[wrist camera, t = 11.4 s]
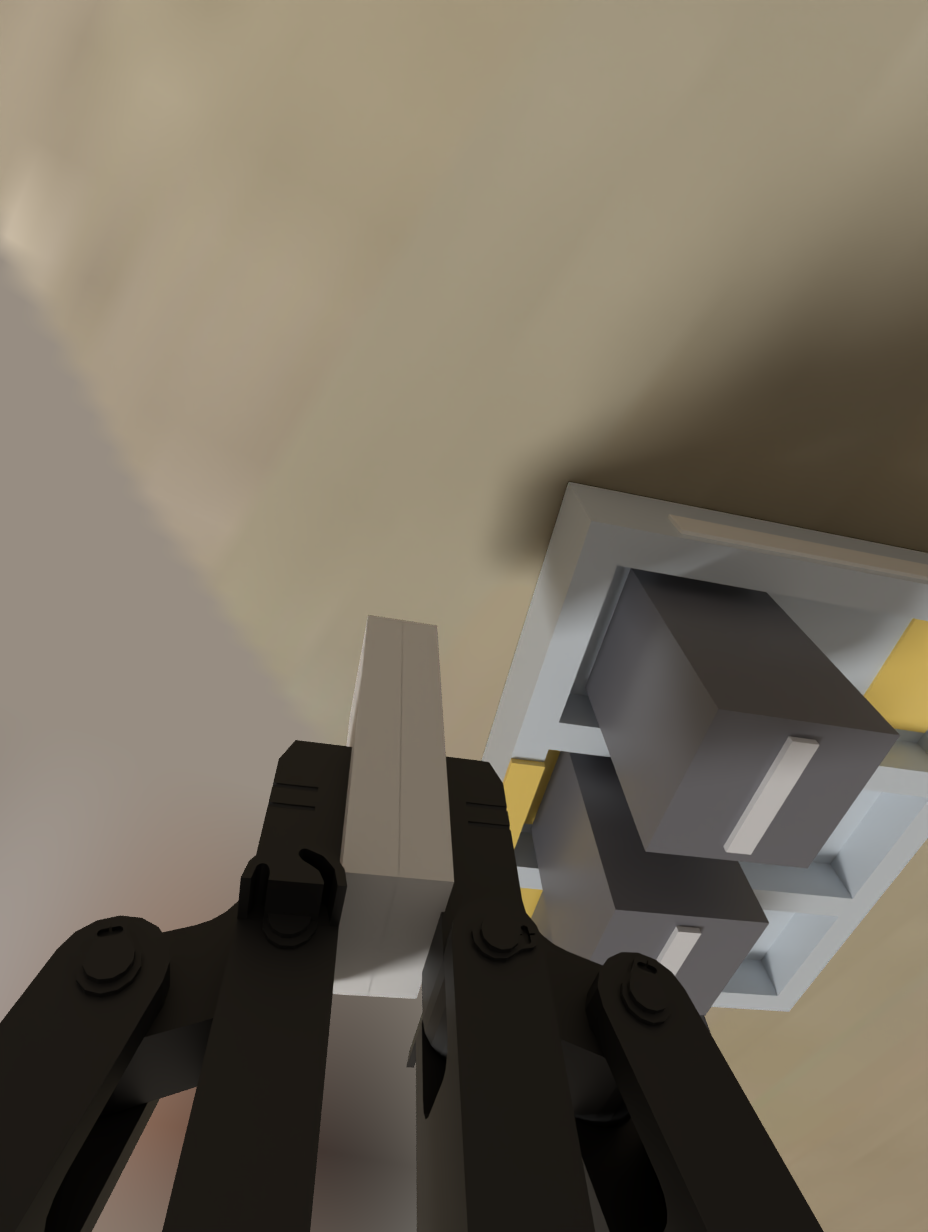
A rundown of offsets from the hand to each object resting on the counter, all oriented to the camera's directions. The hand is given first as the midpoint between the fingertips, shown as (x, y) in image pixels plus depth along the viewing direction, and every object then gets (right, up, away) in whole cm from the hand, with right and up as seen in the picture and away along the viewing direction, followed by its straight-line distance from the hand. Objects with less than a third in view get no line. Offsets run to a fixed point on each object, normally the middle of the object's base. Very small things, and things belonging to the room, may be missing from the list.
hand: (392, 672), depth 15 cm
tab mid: (+6, -5, +7) cm, 11 cm away
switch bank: (+9, -4, +9) cm, 14 cm away
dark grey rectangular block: (+8, +1, +4) cm, 9 cm away
